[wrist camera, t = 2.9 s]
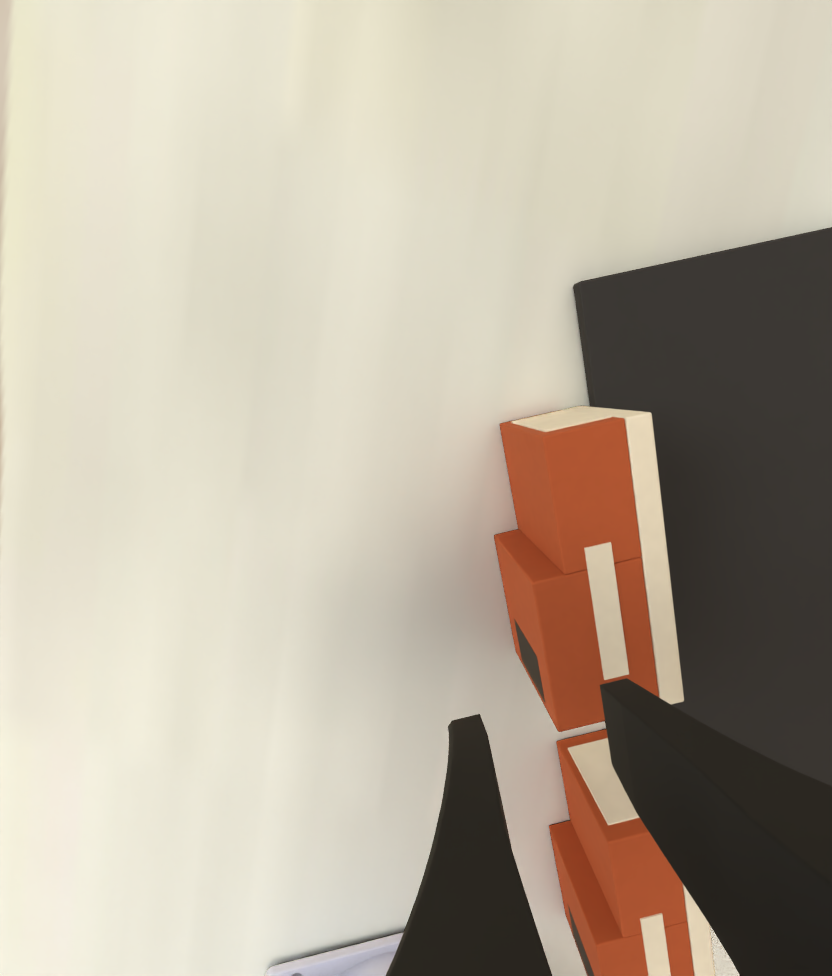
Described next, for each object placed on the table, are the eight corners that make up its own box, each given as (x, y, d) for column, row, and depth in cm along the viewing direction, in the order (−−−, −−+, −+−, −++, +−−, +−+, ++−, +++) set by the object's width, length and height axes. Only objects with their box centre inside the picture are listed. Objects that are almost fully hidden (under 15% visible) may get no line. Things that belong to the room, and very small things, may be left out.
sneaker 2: (515, 652, 21) (558, 734, 16) (472, 427, 19) (506, 442, 14) (613, 628, 21) (686, 703, 16) (581, 403, 19) (653, 409, 14)
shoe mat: (657, 896, 24) (665, 910, 23) (572, 285, 18) (579, 281, 17) (875, 839, 24) (889, 852, 24) (861, 222, 18) (879, 216, 18)
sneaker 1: (565, 914, 24) (615, 1053, 19) (532, 745, 22) (579, 850, 17) (650, 892, 24) (722, 1024, 19) (626, 722, 22) (699, 819, 17)
